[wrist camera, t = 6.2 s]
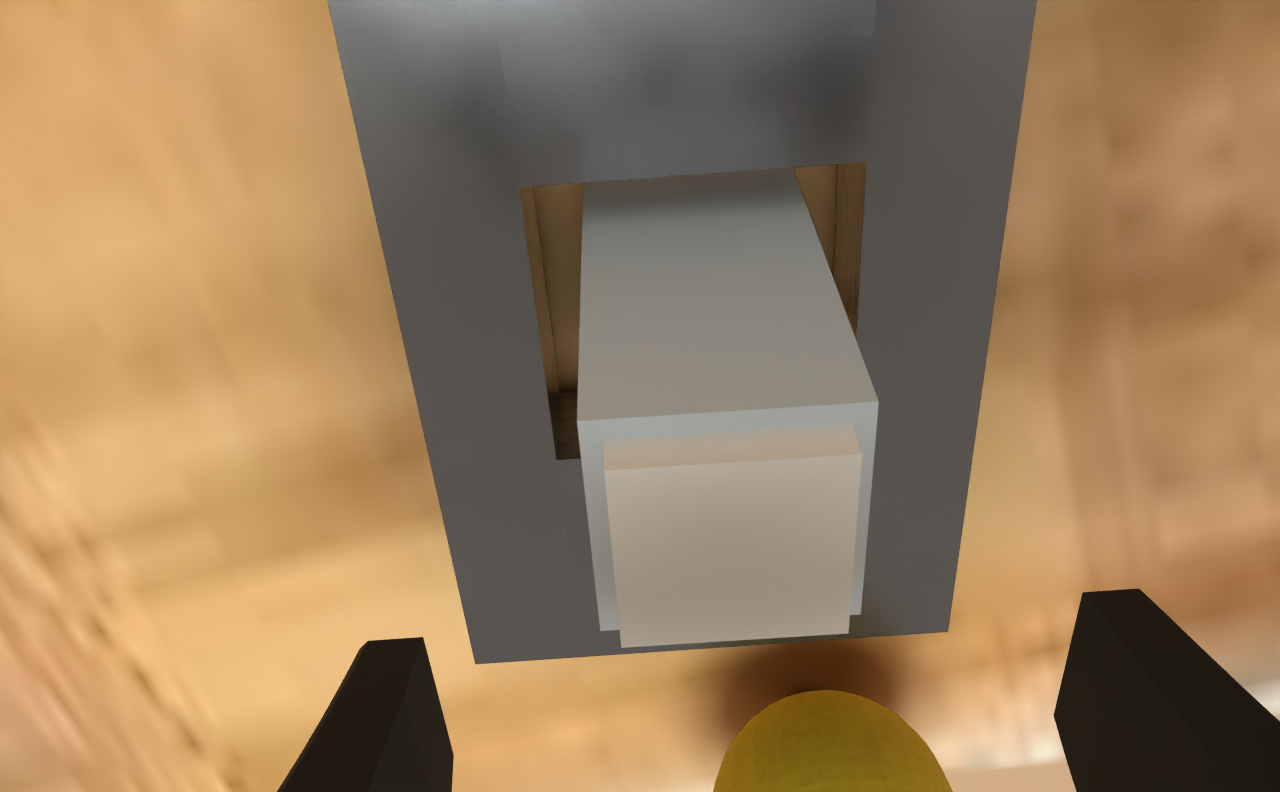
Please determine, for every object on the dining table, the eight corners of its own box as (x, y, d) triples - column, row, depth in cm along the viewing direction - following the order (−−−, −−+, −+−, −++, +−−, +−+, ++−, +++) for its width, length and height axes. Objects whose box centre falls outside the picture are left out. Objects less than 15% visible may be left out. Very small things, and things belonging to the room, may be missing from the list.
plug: (788, 155, 19) (889, 431, 12) (784, 330, 21) (869, 647, 14) (583, 169, 19) (575, 451, 12) (599, 342, 21) (600, 664, 15)
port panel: (1016, -260, 16) (1082, -244, 13) (922, 559, 25) (952, 646, 23) (321, -206, 16) (278, -182, 14) (484, 589, 25) (473, 678, 23)
